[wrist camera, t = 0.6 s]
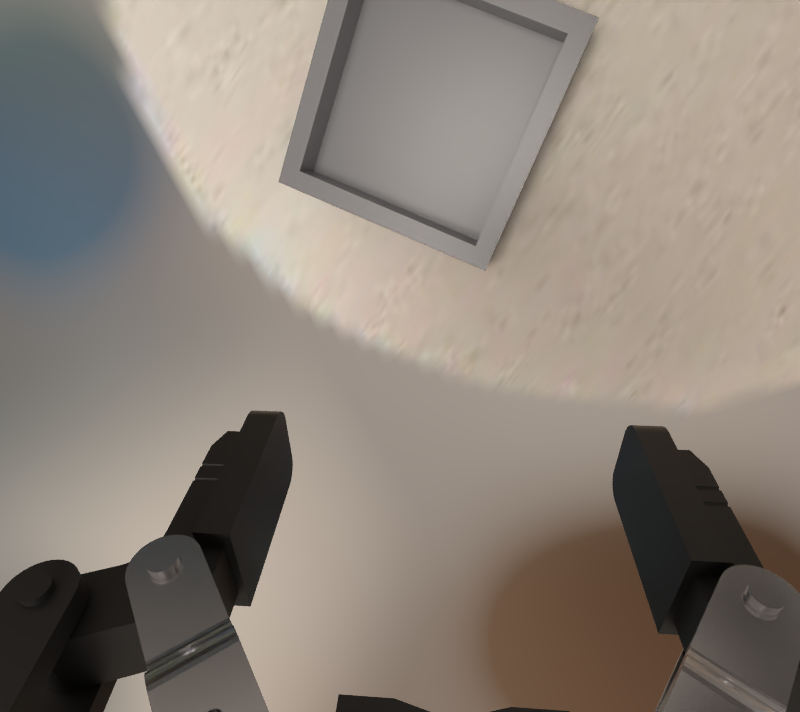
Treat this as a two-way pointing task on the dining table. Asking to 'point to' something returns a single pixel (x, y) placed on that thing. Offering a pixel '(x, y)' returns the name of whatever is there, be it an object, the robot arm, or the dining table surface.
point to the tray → (433, 112)
